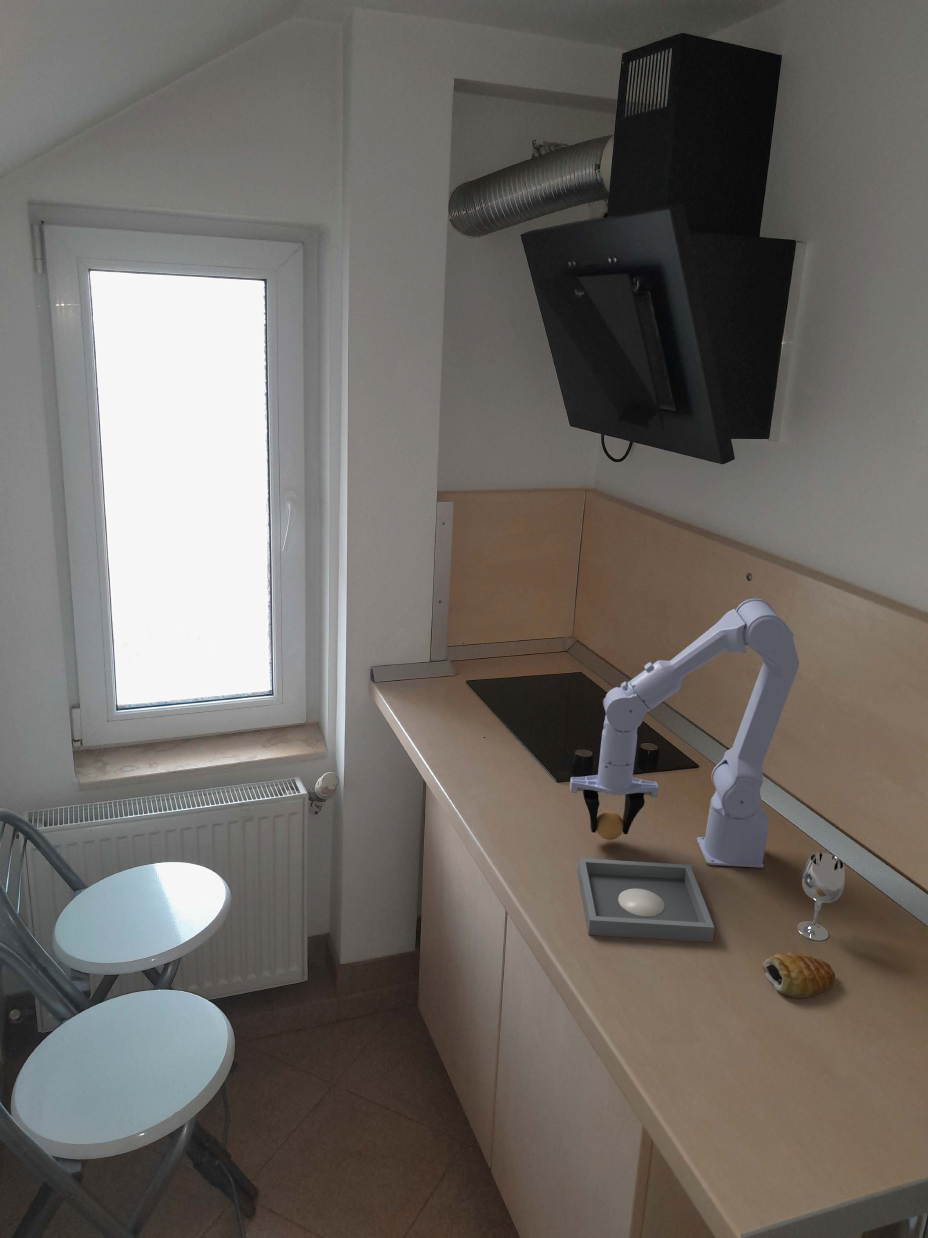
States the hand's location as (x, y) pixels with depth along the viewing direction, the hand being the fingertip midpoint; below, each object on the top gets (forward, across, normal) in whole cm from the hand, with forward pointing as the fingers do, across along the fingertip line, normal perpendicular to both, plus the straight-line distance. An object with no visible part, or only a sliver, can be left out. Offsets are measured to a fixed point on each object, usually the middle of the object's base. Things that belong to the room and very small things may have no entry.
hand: (608, 830), depth 154 cm
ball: (-1, 0, 0) cm, 1 cm away
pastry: (+3, -22, +32) cm, 39 cm away
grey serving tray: (+3, -3, +17) cm, 17 cm away
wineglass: (+3, -28, +21) cm, 35 cm away
